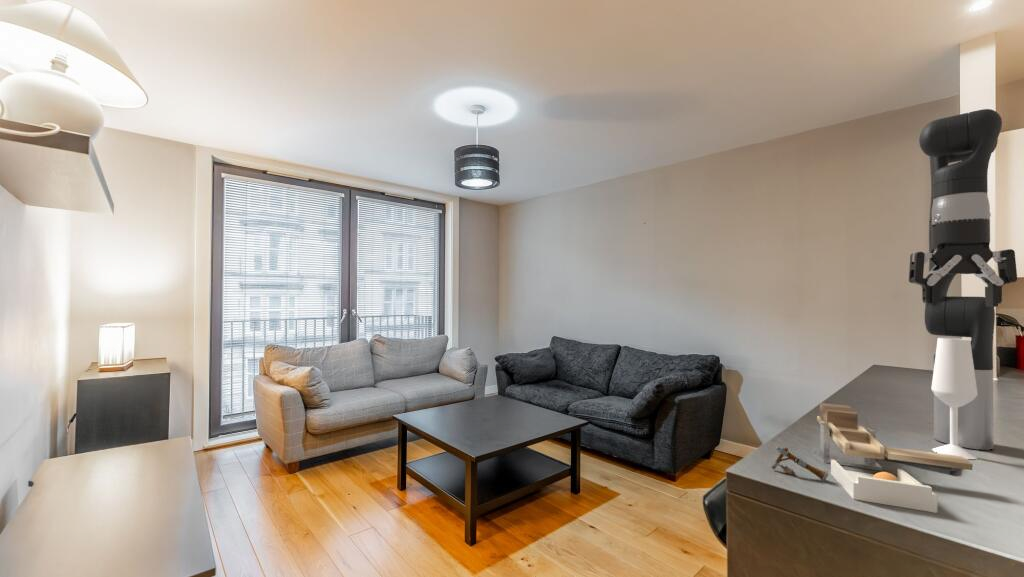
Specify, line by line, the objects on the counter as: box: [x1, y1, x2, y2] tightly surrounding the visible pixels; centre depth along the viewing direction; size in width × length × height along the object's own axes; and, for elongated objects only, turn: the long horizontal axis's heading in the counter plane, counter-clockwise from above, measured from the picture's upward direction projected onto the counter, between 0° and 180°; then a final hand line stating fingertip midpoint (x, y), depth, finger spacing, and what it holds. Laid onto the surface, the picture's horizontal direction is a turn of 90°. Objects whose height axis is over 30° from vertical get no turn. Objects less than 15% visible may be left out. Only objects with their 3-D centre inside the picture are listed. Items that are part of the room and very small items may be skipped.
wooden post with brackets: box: [771, 446, 829, 484], centre depth 74 cm, size 2×8×4 cm, turn 56°
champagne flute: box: [930, 337, 978, 460], centre depth 88 cm, size 7×7×24 cm
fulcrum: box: [814, 423, 884, 472], centre depth 82 cm, size 6×9×7 cm, turn 68°
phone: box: [882, 445, 958, 476], centre depth 84 cm, size 8×1×15 cm
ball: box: [873, 471, 900, 482], centre depth 66 cm, size 4×4×4 cm
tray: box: [830, 460, 938, 514], centre depth 69 cm, size 11×10×4 cm
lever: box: [816, 402, 974, 471], centre depth 80 cm, size 17×17×4 cm
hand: (960, 306), depth 79 cm, fingers open, 8 cm apart
